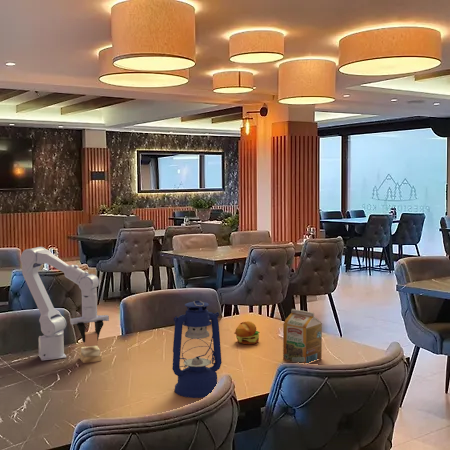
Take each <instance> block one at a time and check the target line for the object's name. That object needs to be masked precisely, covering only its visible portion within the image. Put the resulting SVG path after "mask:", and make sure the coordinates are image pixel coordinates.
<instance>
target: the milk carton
mask: <svg viewBox="0 0 450 450" xmlns="http://www.w3.org/2000/svg"><path fill="white" fill-rule="evenodd" d="M282 328H283V330H282V331H283V334H282V336H283V338H282V339H283V343H282V344H283V345H282V347H283V349H282V351H283V352H282V355H283V356H282V358H283V361H287V362H292V363H295V362H299V363H309V362H311V361H314V360H317V359H320V358H322V356H323V355H322V350H323V349H322V344H323V343H322V340H323V335H322V334H323V331H322V330H323V323H322V321H321V320H320V319H319V318H317V317H316V316H315V313H314V312H311V311H305V310H300V309H295V308H291V313H289V315H288V316H287V317H286V318H285V320H284V321H283V327H282ZM320 360H321V359H320ZM299 363H298V364H299Z"/></svg>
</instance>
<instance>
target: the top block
mask: <svg viewBox="0 0 450 450" xmlns="http://www.w3.org/2000/svg"><path fill="white" fill-rule="evenodd" d="M80 351H81V352H80V353H81V354H82V355H83V356H84V357H93V356H100V355H101V349H100V348H99V346H98V345H97V346H88V347H86V346H81V347H80Z"/></svg>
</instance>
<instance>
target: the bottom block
mask: <svg viewBox="0 0 450 450" xmlns="http://www.w3.org/2000/svg"><path fill="white" fill-rule="evenodd" d="M78 355H79V360H80V361H81V363H83V364H88V363H95V362H101V361H103V360H102V355H101V354H100V356H93V357H84V356H83V355H82V354H81V352H79V354H78Z"/></svg>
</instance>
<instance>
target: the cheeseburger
mask: <svg viewBox="0 0 450 450" xmlns="http://www.w3.org/2000/svg"><path fill="white" fill-rule="evenodd" d="M233 334H235V336H236V337H235V338H236V339H237V342H238V343H239V344H242V345H255V344H257V343H258V342H260V341H259V339H260V331H258V330H257V326H256V324H255V323H254V322H252V321H249V320H248V321H243V322H240V323H238V325H237V326H236V328H235V331H234V332H233Z"/></svg>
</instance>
